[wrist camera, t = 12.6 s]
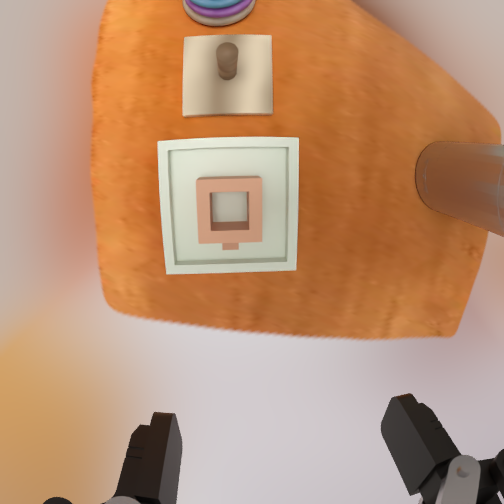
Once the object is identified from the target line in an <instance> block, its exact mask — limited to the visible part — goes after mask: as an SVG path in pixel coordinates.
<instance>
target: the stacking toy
mask: <svg viewBox="0 0 504 504" xmlns="http://www.w3.org/2000/svg"><path fill="white" fill-rule="evenodd" d="M254 4H255V0H183V7H184V9H185V11H186V13H187V14H188V15H189V16H190V17H191V18H192V19H193V20H195V21H197V22H199V23H201V24H204V25H209V26H224V25H229V24H232V23H235V22H237V21H239V20H241V19H243V18H244V17H246V16H247V15H248V14H249V13H250V12H251V10H252V9H253V7H254Z"/></svg>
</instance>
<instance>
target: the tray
mask: <svg viewBox="0 0 504 504" xmlns="http://www.w3.org/2000/svg"><path fill="white" fill-rule="evenodd" d="M158 171H159V192H160V208H161V222H162V234H163V245H164V255H165V265H166V274H200V273H233V272H262V271H288V270H296V262H297V233H298V188H299V138H296V137H218V138H196V139H180V140H167V141H158ZM217 176H259V177H261V178H262V242H245V243H239V250H222V243H210V244H199V241H198V223H197V200H196V180H197V179H198V178H199V177H217ZM212 210H213V222H231V221H247V192H212Z"/></svg>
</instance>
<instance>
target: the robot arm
mask: <svg viewBox="0 0 504 504" xmlns="http://www.w3.org/2000/svg"><path fill="white" fill-rule="evenodd" d="M416 184H417V189H418V192H419V195H420V197H421V198H422V200H423V202H424V203H425V204H426V205H427V206H428V207H429V208H431V209H432V210H435V211H438V212H441V213H444V214H446V215H449V216H452V217H454V218H457V219H459V220H462V221H465V222H467V223H470V224H473V225H475V226H478V227H480V228H483V229H485V230H488V231H490V232H493V233H495V234H498V235H500V236H502V237H504V145H499V144H485V143H467V142H434V143H432V144H430V145H429V146H427V147H426V148H425V149H424V151H423V152H422V153H421V155H420V157H419V160H418V163H417V167H416ZM381 433H382V436H383V438H384V440H385V442H386V444H387V447H388V449H389V451H390V453H391V455H392V457H393V459H394V462H395V464H396V466H397V468H398V470H399V472H400V475H401V477H402V479H403V481H404V483H405V485H406V488H407V490H408V492H409V494H410V496H411V495H414V494H417V493H419V492H420V493H421V495H422V497H421V498H420V500H419V503H418V504H502V503H501V501H500V499H499V497H498V495H497V493H498V492H499V491H500V492H501V494H502V496H503V498H504V449H503V450H501V451H500V452H499V453H498V455H497V456H496V457H495V458H492V459H486V460H480V461H477V460H476V459H475V458H473V457H471V456H468V455H461V453H460V452H459V451H458V449H457V447H456V446H455V444H454V443H453V442H452V440H451V438H450V436H448V433H447V432H446V430H445V429H444V428H443V427H442V424H441V423H440V421H438V418H437V417H436V415H435V414H434V412H433V411H432V410H431V409H430V408H429V407H427V406H426V405H425V404H423V403H418V402H417V401H416V399H415V397H414V396H413V395H412V394H410V393H408V394H404V395H400V396H396V397H393V398H391V400H390V402H389V405H388V407H387V410H386V412H385V415H384V417H383V420H382V422H381ZM128 447H129V448H128V449H127V452H126V458H125V460H124V463H123V467H122V471H121V474H120V478H119V482H118V486H117V490H116V492H115V494H114V496H113V497H112V498H111V499H109V500H108V501H107V502H105V503H102V504H176V500H177V491H178V482H179V473H180V465H181V456H182V438H181V434H180V430H179V426H178V423H177V418H176V415H175V414H174V413H161V412H154V413H153V416H152V419H151V423H150V426H149V425H139V427H138V428H137V429H136V430H135V431H134V432H133V433H132V435H131V439H130V442H129V446H128ZM43 504H72V503H71V502H70V501H69V500H67V499H64V498H60V497H53V498H50V499H48V500H46V501H45V502H44V503H43Z"/></svg>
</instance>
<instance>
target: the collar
mask: <svg viewBox="0 0 504 504" xmlns="http://www.w3.org/2000/svg"><path fill="white" fill-rule="evenodd" d="M212 192H247V221H231V222H213V210H212ZM196 200H197V223H198V241H199V244H210V243H222V250H239V243H245V242H262V178H261V177H259V176H217V177H199V178H198V179H197V180H196Z"/></svg>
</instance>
